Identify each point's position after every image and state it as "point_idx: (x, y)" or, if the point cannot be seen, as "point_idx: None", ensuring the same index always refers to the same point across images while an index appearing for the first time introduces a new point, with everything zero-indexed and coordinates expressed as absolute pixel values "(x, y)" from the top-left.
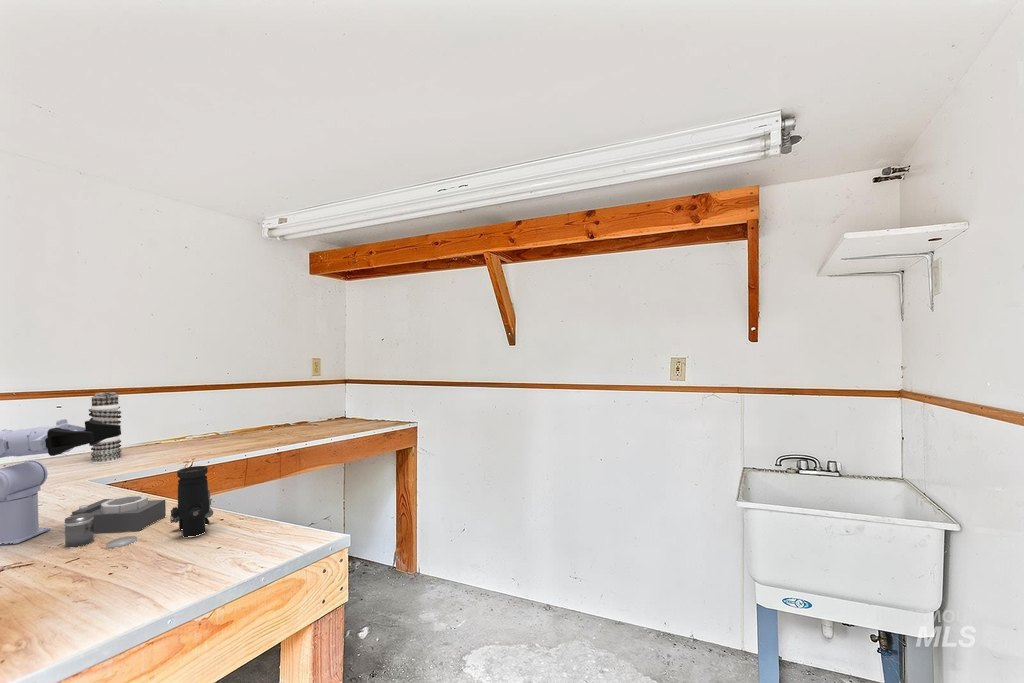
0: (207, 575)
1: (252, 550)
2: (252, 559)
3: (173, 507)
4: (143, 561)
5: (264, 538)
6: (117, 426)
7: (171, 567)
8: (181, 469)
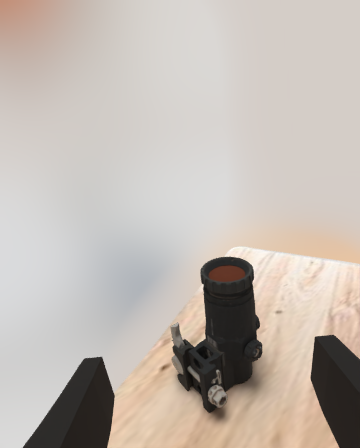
0: (347, 286)
1: (278, 282)
2: (299, 274)
3: (253, 345)
4: None
5: None
6: (100, 361)
7: (349, 325)
8: (228, 282)
